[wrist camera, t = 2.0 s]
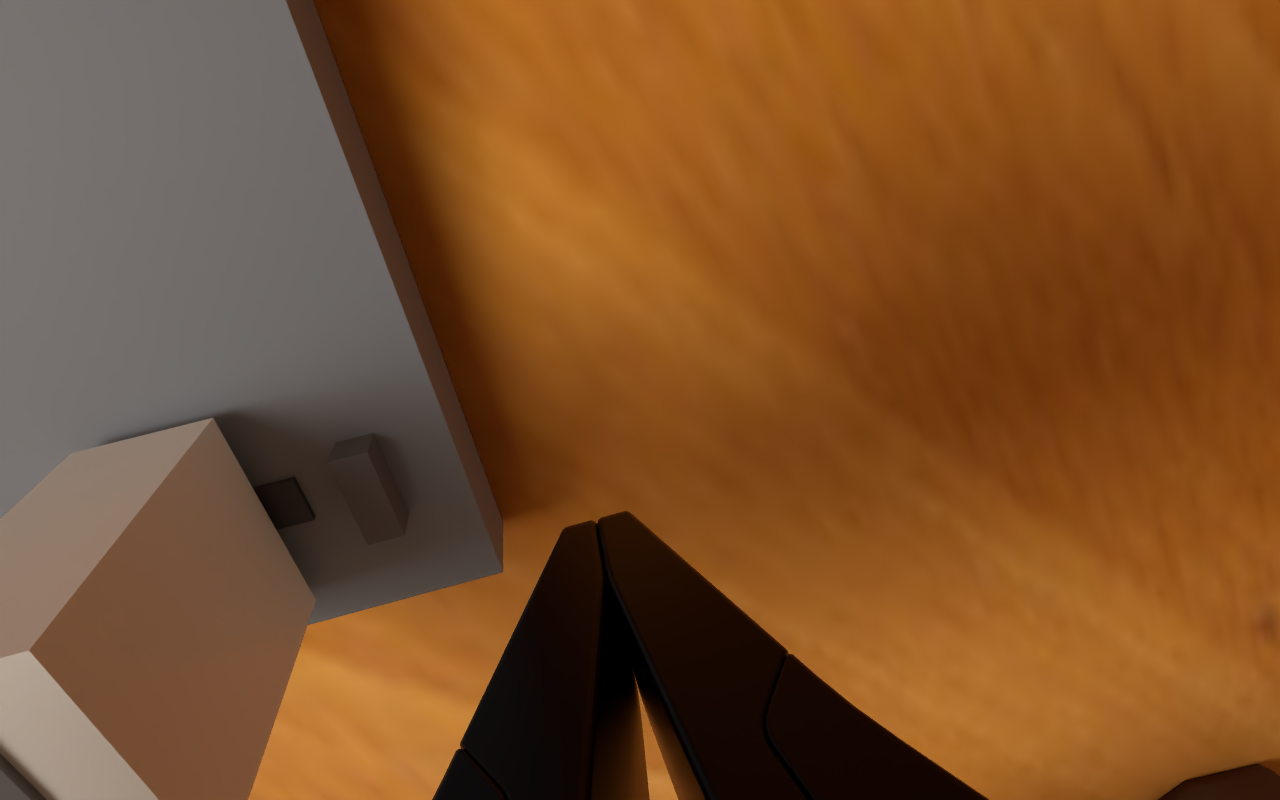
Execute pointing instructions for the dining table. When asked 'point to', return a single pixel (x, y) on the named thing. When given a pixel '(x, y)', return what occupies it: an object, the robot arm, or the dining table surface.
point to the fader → (144, 625)
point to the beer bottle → (1231, 786)
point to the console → (226, 285)
